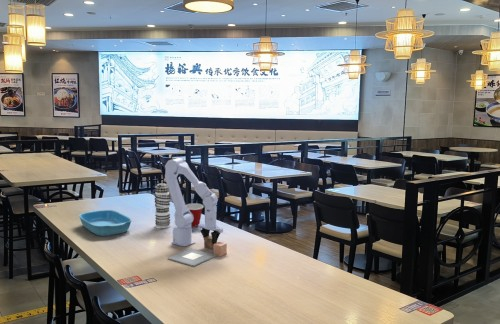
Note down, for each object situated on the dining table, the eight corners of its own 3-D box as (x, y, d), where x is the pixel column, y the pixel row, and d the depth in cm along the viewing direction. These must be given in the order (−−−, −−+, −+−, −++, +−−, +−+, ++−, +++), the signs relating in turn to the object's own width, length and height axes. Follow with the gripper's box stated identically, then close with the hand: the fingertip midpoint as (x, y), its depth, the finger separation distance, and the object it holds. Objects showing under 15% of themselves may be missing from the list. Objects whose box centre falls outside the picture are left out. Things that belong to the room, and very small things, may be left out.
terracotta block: (213, 254, 204) (213, 244, 203) (219, 251, 208) (219, 241, 207) (220, 256, 201) (220, 245, 201) (226, 253, 205) (226, 243, 204)
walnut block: (204, 247, 213) (204, 237, 213) (209, 244, 217) (209, 235, 217) (211, 248, 211) (211, 239, 210) (216, 246, 215) (216, 236, 214)
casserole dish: (138, 232, 236) (137, 220, 235) (98, 240, 222) (97, 227, 221) (111, 218, 264) (110, 207, 263) (74, 225, 250) (73, 213, 249)
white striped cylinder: (155, 228, 244) (154, 185, 240) (154, 224, 253) (153, 183, 249) (171, 227, 246) (170, 185, 243) (170, 223, 255) (169, 182, 252)
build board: (167, 259, 196) (167, 257, 196) (191, 249, 209) (191, 248, 209) (193, 266, 187) (193, 265, 187) (216, 256, 201) (216, 254, 200)
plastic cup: (186, 228, 245) (186, 208, 243) (184, 223, 255) (184, 204, 254) (205, 227, 248) (205, 207, 246) (202, 222, 258) (202, 203, 257)
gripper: (226, 218, 211) (226, 244, 213) (204, 213, 219) (204, 239, 221) (218, 221, 206) (218, 248, 207) (195, 216, 214) (195, 242, 215)
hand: (210, 244), depth 214 cm, fingers closed on walnut block, 4 cm apart
